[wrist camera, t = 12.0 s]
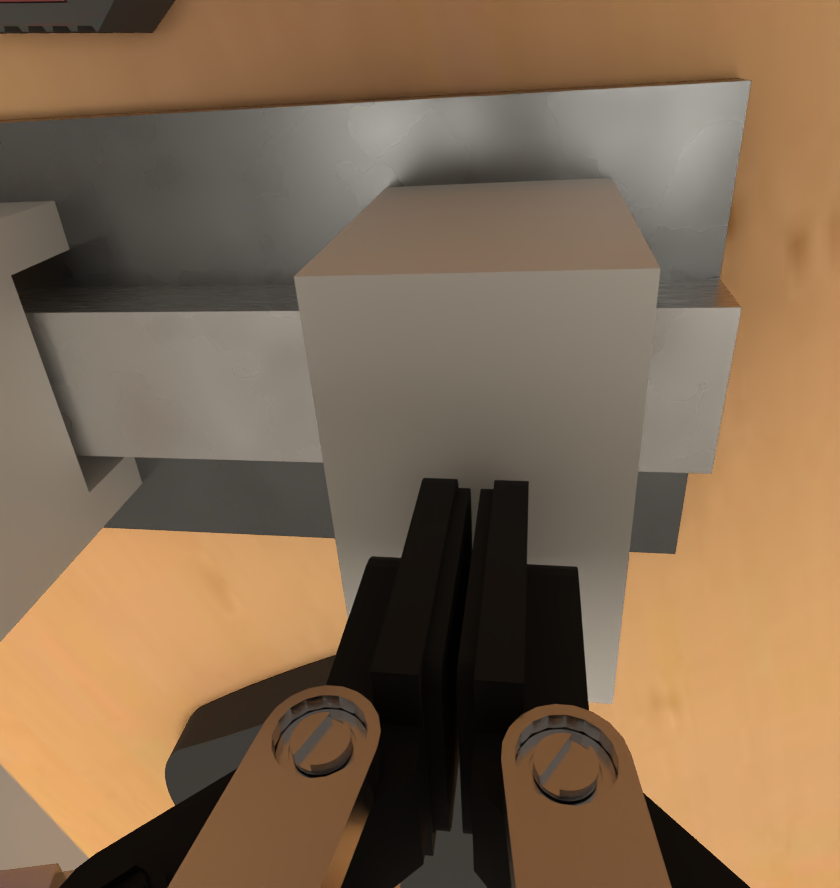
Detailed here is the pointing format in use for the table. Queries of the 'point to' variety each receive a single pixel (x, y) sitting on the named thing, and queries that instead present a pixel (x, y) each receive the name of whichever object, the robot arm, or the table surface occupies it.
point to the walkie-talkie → (82, 16)
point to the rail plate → (302, 237)
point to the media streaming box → (233, 731)
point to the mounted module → (41, 439)
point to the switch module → (488, 373)
